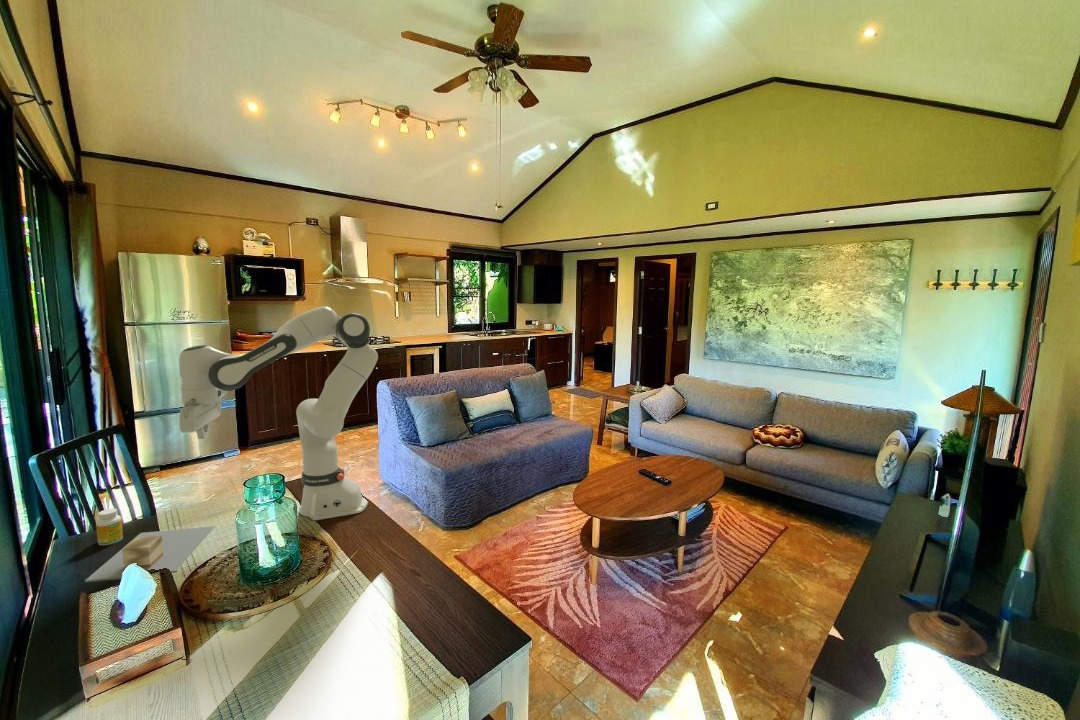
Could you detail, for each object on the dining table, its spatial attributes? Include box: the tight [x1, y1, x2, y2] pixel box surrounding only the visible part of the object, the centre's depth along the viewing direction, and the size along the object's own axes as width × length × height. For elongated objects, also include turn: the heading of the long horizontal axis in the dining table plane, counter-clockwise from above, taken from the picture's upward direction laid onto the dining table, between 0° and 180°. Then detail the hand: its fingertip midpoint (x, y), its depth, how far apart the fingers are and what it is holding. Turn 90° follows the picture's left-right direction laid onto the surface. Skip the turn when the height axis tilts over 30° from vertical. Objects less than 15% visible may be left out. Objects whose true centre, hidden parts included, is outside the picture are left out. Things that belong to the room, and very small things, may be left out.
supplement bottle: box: [95, 508, 124, 546], centre depth 131 cm, size 5×5×10 cm
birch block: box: [121, 536, 163, 569], centre depth 121 cm, size 6×6×6 cm
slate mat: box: [84, 526, 216, 583], centre depth 127 cm, size 20×24×1 cm
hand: (203, 437), depth 142 cm, fingers closed
